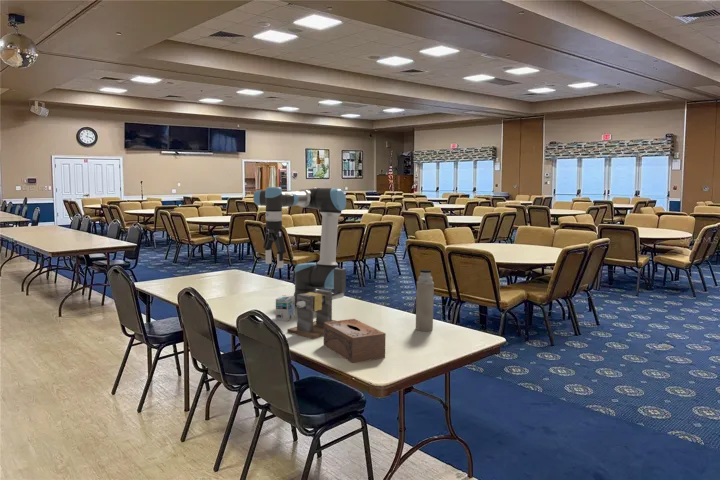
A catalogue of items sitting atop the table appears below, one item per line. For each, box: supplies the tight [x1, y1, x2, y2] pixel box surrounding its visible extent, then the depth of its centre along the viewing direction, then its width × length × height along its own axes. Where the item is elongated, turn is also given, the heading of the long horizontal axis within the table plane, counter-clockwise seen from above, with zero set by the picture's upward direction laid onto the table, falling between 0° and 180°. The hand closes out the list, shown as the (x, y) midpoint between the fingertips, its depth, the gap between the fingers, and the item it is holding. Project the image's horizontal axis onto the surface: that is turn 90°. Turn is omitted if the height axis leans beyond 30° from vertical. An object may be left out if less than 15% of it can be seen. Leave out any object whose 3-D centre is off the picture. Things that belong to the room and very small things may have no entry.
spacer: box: [305, 292, 322, 312], centre depth 251 cm, size 5×7×7 cm
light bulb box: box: [275, 294, 296, 322], centre depth 276 cm, size 11×7×11 cm, turn 168°
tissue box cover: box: [323, 318, 386, 364], centre depth 224 cm, size 26×14×10 cm, turn 29°
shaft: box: [296, 267, 347, 308], centre depth 255 cm, size 30×5×14 cm, turn 143°
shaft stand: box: [287, 288, 336, 339], centre depth 256 cm, size 26×16×18 cm, turn 143°
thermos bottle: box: [415, 269, 435, 332], centre depth 258 cm, size 8×8×28 cm
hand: (274, 265), depth 259 cm, fingers open, 13 cm apart
